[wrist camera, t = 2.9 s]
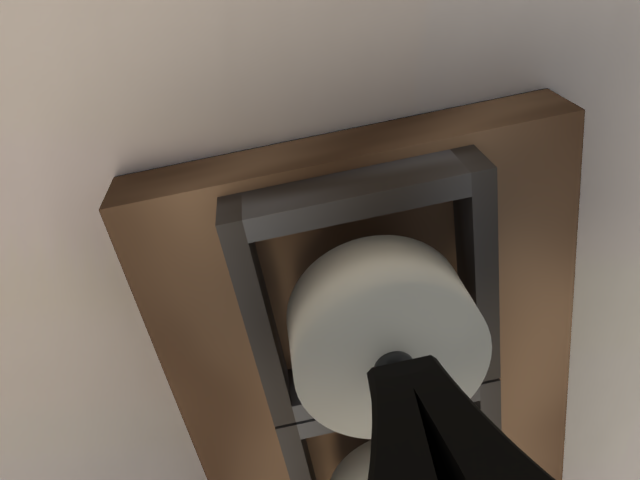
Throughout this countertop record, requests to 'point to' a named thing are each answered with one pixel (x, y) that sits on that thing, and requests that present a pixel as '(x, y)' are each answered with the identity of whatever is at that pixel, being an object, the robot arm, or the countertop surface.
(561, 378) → the button panel
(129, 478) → the countertop surface
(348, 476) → the button three
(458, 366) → the button one
